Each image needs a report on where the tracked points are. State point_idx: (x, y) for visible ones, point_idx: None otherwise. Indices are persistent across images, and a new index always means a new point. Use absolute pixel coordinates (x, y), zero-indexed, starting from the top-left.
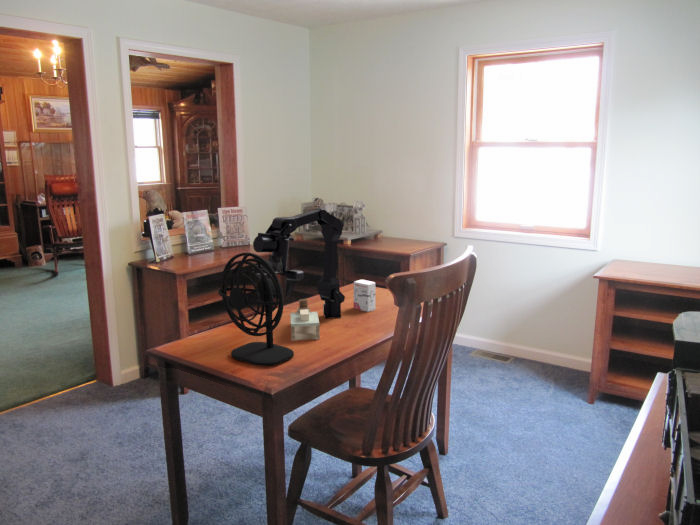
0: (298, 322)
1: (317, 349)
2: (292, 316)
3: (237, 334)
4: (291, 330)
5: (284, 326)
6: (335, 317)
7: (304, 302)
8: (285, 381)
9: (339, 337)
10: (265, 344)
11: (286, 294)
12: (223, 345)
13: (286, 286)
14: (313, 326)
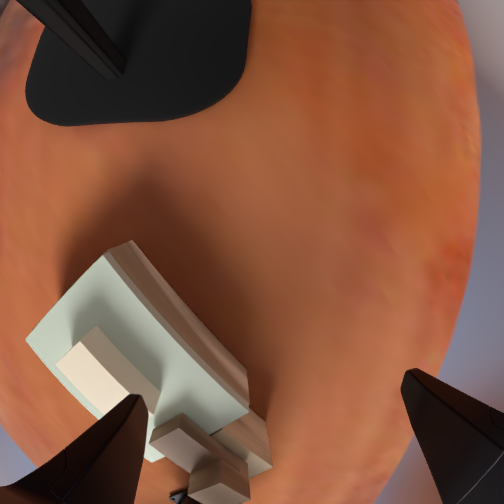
0: (89, 299)
1: (10, 215)
2: (193, 372)
3: (396, 181)
4: (113, 247)
5: (284, 370)
6: (181, 491)
7: (199, 485)
8: (10, 7)
9: (33, 355)
10: (151, 79)
11: (117, 411)
12: (348, 54)
13: (75, 477)
14: (43, 317)
